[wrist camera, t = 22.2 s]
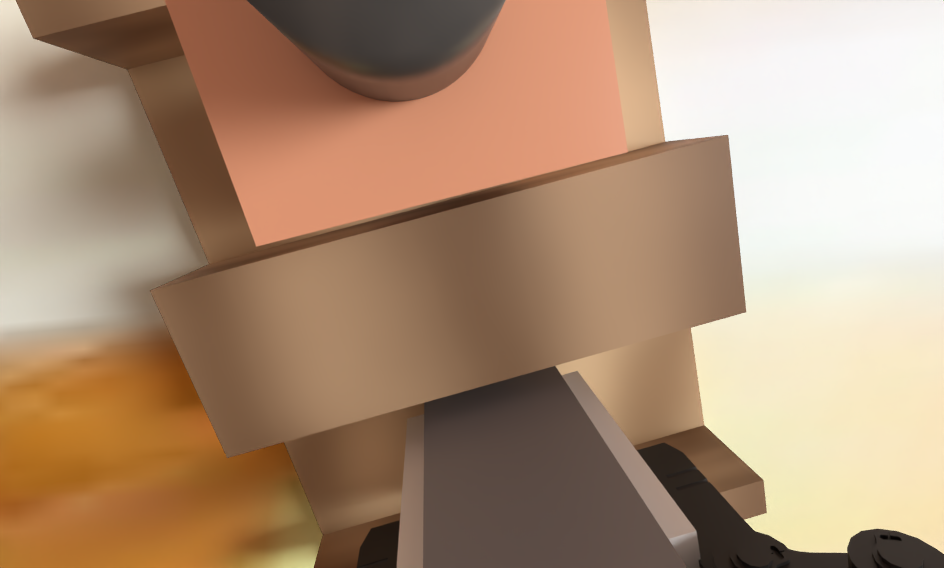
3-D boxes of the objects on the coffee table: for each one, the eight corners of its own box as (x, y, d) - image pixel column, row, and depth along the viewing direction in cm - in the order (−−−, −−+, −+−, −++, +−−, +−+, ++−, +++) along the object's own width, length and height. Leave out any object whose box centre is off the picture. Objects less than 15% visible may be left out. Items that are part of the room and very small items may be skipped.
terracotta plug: (366, 195, 13) (139, 300, 3) (322, 48, 12) (-298, -660, 2) (498, 162, 14) (759, 141, 3) (466, 14, 13) (689, -842, 2)
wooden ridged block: (344, 552, 18) (321, 661, 14) (121, 7, 13) (-14, -64, 9) (694, 451, 18) (768, 528, 14) (611, -116, 13) (690, -235, 9)
